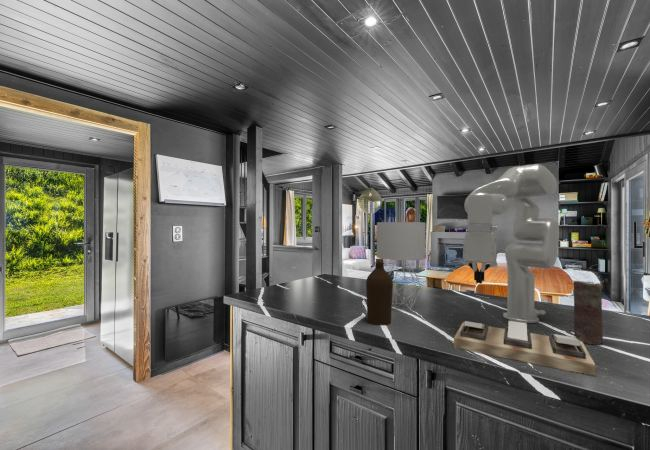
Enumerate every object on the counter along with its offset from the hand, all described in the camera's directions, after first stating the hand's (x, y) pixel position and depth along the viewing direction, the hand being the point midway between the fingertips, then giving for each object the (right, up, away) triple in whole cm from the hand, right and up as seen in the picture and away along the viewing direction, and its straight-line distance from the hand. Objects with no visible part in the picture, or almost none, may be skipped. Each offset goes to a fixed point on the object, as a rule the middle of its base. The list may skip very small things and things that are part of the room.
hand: (479, 282), depth 105 cm
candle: (+36, -20, -2) cm, 41 cm away
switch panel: (+7, -19, -9) cm, 22 cm away
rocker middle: (+7, -14, -9) cm, 19 cm away
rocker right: (+18, -15, -15) cm, 28 cm away
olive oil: (-31, -19, +18) cm, 41 cm away
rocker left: (-3, -14, -3) cm, 15 cm away
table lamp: (-17, -19, +41) cm, 48 cm away
